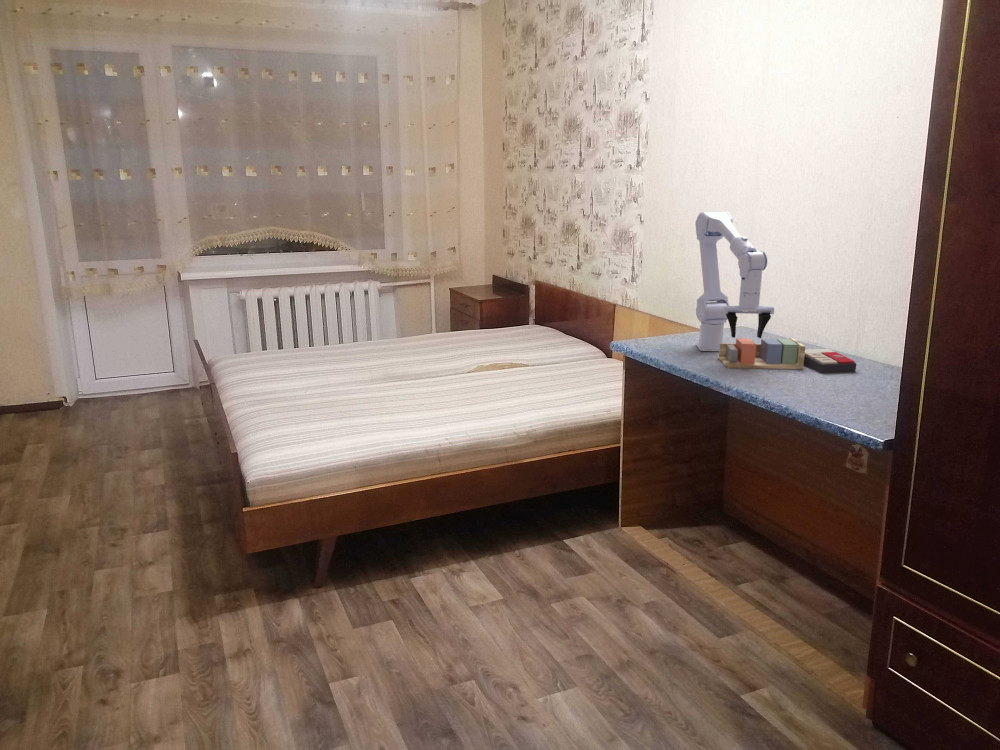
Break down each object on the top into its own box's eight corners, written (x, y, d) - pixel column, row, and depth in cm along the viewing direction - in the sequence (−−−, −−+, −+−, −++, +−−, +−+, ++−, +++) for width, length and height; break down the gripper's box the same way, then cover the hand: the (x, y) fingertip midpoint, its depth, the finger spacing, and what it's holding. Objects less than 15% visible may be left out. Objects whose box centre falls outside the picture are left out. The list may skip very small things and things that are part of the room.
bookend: (725, 357, 233) (726, 344, 232) (731, 357, 232) (732, 344, 231) (730, 362, 226) (731, 349, 225) (736, 362, 226) (737, 349, 225)
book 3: (774, 357, 232) (776, 338, 230) (788, 357, 232) (789, 338, 230) (782, 364, 224) (784, 344, 223) (795, 364, 224) (797, 344, 222)
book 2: (759, 357, 232) (761, 338, 231) (773, 357, 232) (774, 338, 230) (766, 363, 225) (768, 344, 223) (780, 364, 224) (782, 344, 223)
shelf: (718, 358, 235) (720, 337, 233) (791, 359, 233) (793, 337, 231) (727, 367, 223) (728, 345, 221) (803, 369, 222) (805, 346, 220)
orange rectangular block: (734, 357, 233) (736, 338, 231) (748, 357, 232) (749, 338, 231) (740, 363, 225) (742, 344, 223) (754, 363, 225) (756, 344, 223)
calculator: (822, 362, 216) (795, 348, 230) (820, 376, 217) (794, 361, 232) (857, 361, 217) (829, 346, 232) (855, 375, 219) (827, 360, 233)
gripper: (728, 294, 220) (724, 339, 224) (778, 294, 219) (774, 340, 223) (723, 290, 227) (719, 334, 231) (772, 291, 226) (768, 335, 229)
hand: (746, 337), depth 227 cm, fingers open, 7 cm apart
